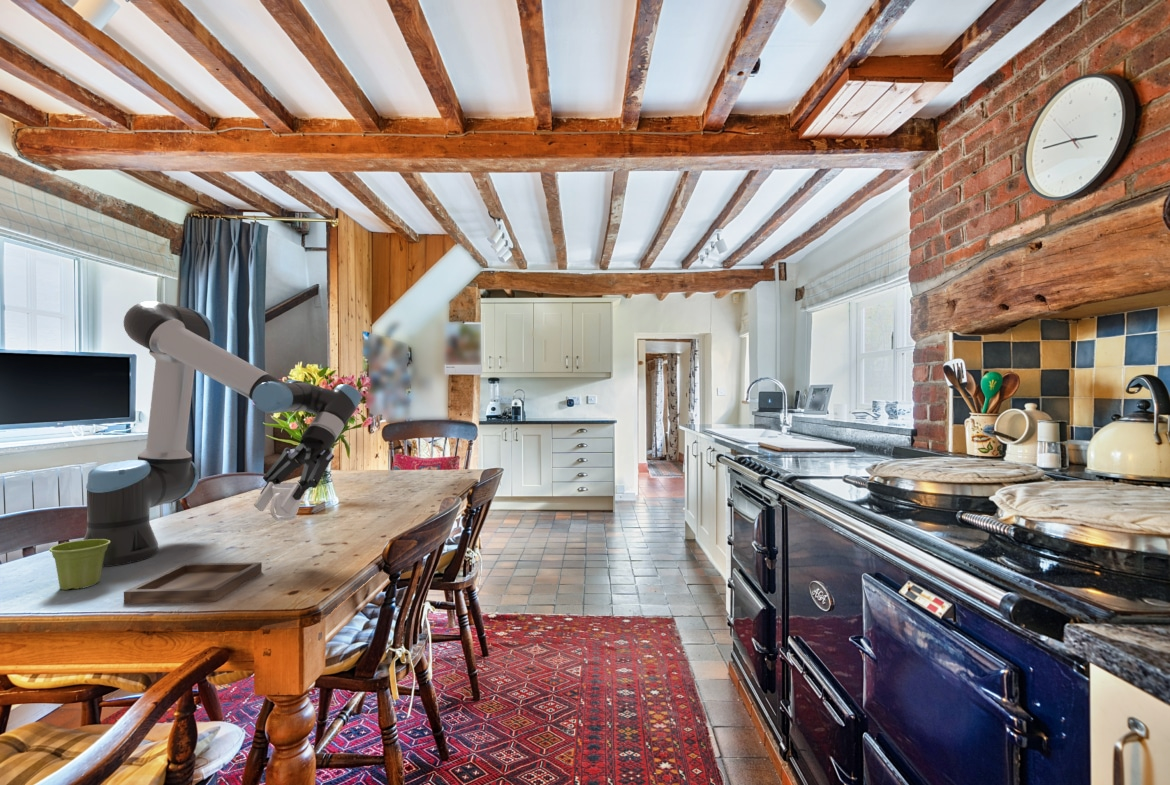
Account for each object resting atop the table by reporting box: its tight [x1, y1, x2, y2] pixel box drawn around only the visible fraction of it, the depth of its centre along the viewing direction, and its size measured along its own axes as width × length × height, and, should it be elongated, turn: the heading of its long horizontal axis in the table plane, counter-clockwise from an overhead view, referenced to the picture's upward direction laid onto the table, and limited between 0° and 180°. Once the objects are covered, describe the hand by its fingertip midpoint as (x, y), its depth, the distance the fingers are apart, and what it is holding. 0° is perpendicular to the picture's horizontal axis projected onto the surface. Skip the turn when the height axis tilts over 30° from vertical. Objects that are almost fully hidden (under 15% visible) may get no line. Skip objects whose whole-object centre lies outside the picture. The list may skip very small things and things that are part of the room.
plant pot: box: [48, 539, 110, 591], centre depth 113 cm, size 9×9×9 cm
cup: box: [269, 481, 302, 522], centre depth 127 cm, size 7×10×8 cm
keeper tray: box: [123, 561, 263, 605], centre depth 112 cm, size 17×17×2 cm
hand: (271, 509), depth 123 cm, fingers closed on cup, 7 cm apart
